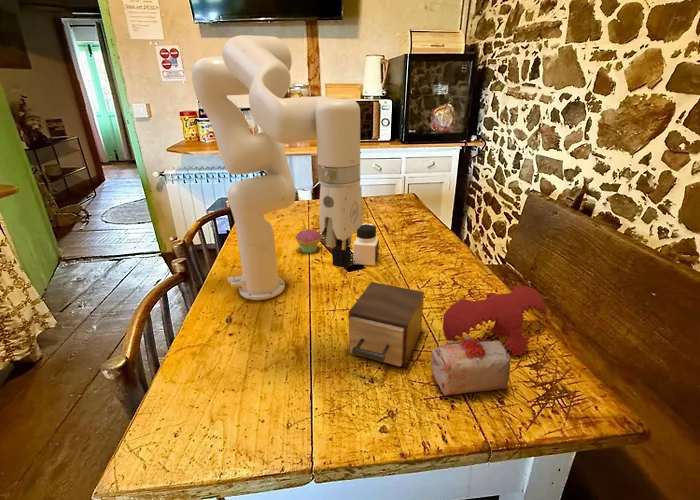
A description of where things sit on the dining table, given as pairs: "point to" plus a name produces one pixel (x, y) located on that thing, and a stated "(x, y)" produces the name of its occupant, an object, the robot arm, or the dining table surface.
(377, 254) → the medicine bottle
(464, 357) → the food item
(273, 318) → the dining table surface
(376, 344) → the drawer
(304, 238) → the cupcake
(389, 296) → the cabinet
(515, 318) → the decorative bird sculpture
